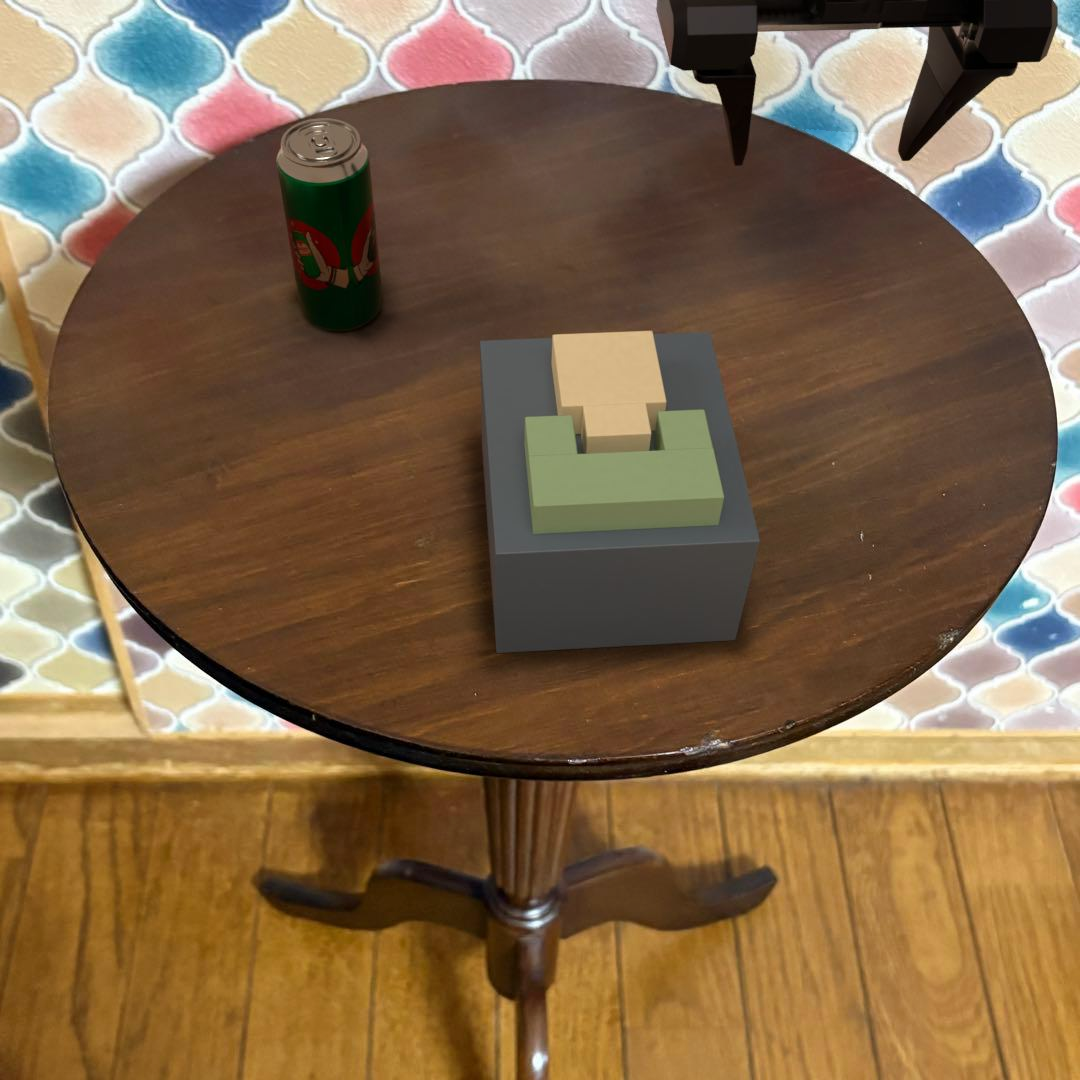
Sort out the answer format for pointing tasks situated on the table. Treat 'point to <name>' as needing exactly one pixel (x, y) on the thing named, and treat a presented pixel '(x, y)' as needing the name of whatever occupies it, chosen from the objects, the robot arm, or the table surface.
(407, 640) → the table surface
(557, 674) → the table surface
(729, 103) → the robot arm
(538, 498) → the green pad
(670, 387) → the block
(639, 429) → the cream pad
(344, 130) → the soda can
